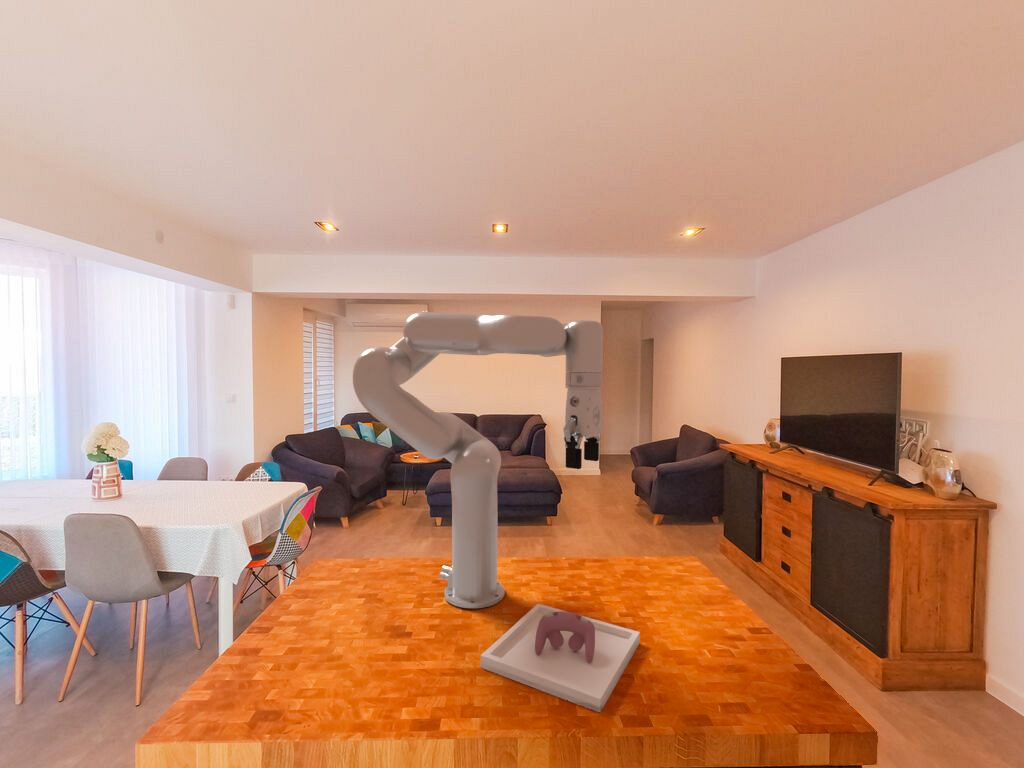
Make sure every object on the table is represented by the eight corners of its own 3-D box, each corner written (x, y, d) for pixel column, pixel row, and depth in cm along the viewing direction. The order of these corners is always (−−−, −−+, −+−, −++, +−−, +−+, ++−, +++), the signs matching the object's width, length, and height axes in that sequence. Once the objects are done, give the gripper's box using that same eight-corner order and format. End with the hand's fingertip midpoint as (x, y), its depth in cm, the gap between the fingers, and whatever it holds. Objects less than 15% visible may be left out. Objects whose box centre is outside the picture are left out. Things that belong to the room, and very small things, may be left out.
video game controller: (595, 662, 80) (597, 615, 83) (593, 664, 76) (595, 615, 79) (537, 652, 83) (540, 608, 86) (532, 654, 79) (536, 607, 82)
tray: (480, 667, 77) (480, 655, 77) (537, 613, 95) (537, 603, 95) (600, 713, 67) (600, 698, 67) (639, 643, 85) (639, 632, 85)
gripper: (585, 382, 90) (584, 473, 91) (614, 381, 105) (613, 459, 105) (548, 381, 94) (548, 469, 94) (582, 380, 109) (581, 456, 109)
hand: (582, 464), depth 100 cm, fingers open, 9 cm apart
